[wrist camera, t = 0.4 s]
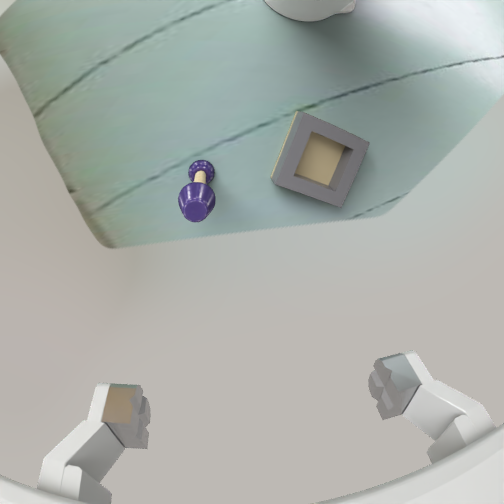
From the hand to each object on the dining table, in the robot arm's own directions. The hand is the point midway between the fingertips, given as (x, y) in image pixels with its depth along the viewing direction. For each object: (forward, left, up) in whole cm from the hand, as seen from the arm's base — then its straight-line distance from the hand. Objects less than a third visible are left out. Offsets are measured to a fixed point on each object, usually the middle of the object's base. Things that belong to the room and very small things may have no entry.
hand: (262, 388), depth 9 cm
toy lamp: (+5, -2, -43) cm, 44 cm away
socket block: (-4, +15, -43) cm, 46 cm away
